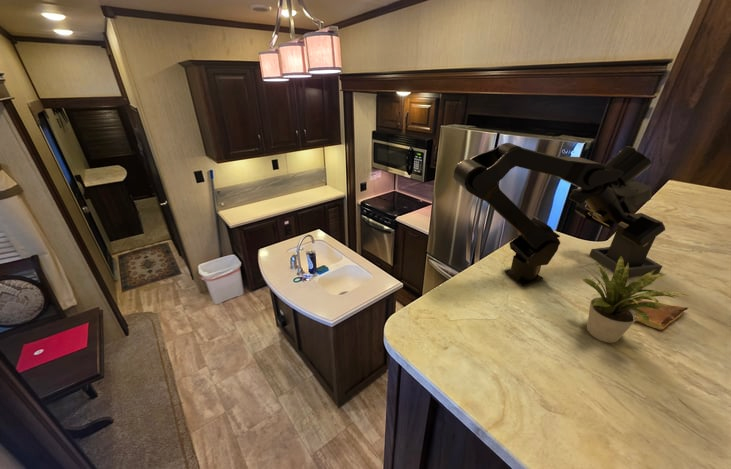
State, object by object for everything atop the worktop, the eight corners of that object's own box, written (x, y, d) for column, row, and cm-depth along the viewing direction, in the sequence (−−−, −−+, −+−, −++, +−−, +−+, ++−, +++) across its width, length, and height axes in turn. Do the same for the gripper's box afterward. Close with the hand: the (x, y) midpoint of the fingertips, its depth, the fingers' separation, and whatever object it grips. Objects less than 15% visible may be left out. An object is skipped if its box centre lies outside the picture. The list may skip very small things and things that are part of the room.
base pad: (622, 278, 72) (625, 270, 71) (589, 255, 81) (591, 248, 80) (659, 273, 73) (662, 266, 72) (622, 251, 82) (625, 244, 81)
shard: (685, 312, 61) (689, 306, 60) (705, 340, 55) (710, 333, 54) (621, 302, 65) (624, 295, 64) (634, 326, 59) (637, 320, 58)
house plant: (617, 380, 49) (658, 309, 41) (544, 325, 61) (565, 261, 53) (665, 348, 54) (709, 279, 46) (589, 303, 65) (614, 241, 57)
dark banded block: (622, 269, 74) (642, 224, 68) (605, 257, 79) (622, 214, 73) (641, 267, 74) (663, 222, 68) (622, 255, 79) (641, 212, 73)
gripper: (678, 186, 56) (701, 230, 62) (599, 162, 72) (624, 199, 78) (625, 226, 59) (652, 264, 65) (561, 194, 76) (588, 227, 82)
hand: (627, 235), depth 72 cm, fingers open, 9 cm apart
